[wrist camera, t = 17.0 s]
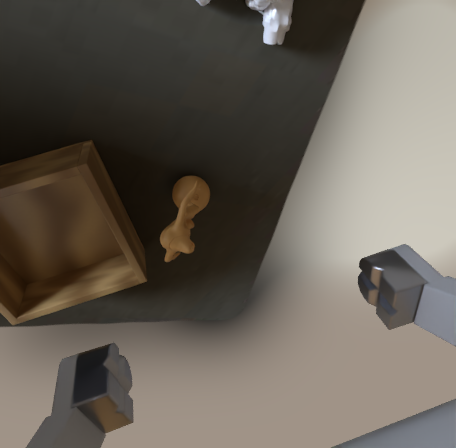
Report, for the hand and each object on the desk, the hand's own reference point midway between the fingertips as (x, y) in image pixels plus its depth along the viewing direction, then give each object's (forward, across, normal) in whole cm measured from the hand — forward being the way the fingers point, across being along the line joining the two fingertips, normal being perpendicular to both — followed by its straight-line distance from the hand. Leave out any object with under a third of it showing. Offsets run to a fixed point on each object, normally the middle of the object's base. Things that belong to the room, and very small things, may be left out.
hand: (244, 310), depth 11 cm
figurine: (+26, +1, +10) cm, 28 cm away
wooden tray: (+26, +15, +10) cm, 32 cm away
